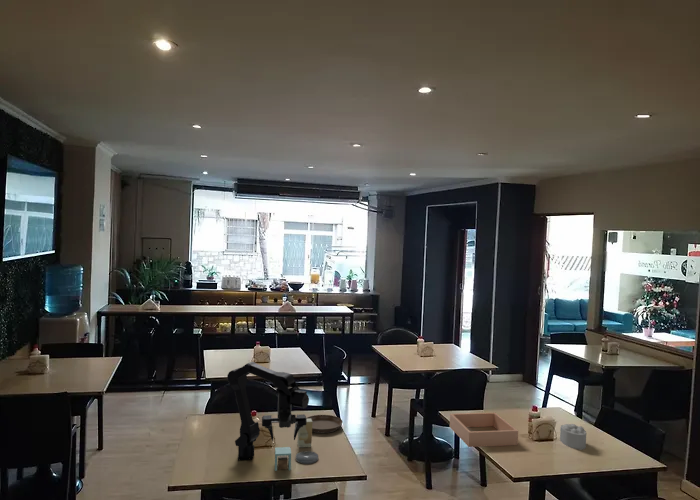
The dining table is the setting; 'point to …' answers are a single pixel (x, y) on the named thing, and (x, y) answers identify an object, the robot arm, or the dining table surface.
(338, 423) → the plant saucer
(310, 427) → the skincare box
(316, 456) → the grey domed disc
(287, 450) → the teal arch
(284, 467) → the walnut block
